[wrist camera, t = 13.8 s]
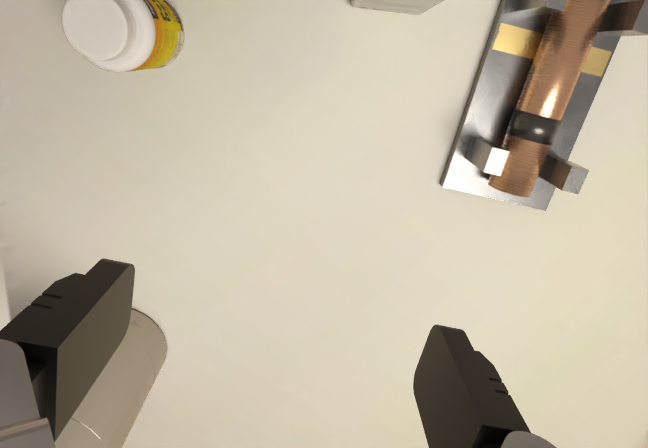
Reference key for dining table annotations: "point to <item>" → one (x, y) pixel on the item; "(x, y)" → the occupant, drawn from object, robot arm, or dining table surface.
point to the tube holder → (505, 89)
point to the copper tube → (547, 93)
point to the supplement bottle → (124, 33)
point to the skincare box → (397, 5)
